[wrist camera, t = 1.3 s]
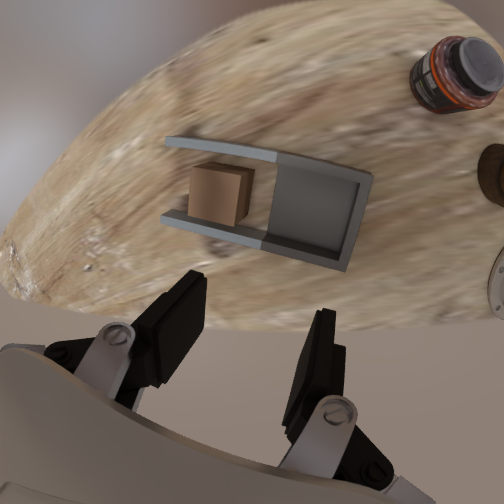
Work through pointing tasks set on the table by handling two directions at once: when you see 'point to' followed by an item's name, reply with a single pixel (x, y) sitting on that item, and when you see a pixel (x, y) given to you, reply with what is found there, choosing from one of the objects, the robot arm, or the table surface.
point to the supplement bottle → (458, 75)
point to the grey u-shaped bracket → (292, 206)
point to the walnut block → (220, 192)
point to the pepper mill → (492, 173)
